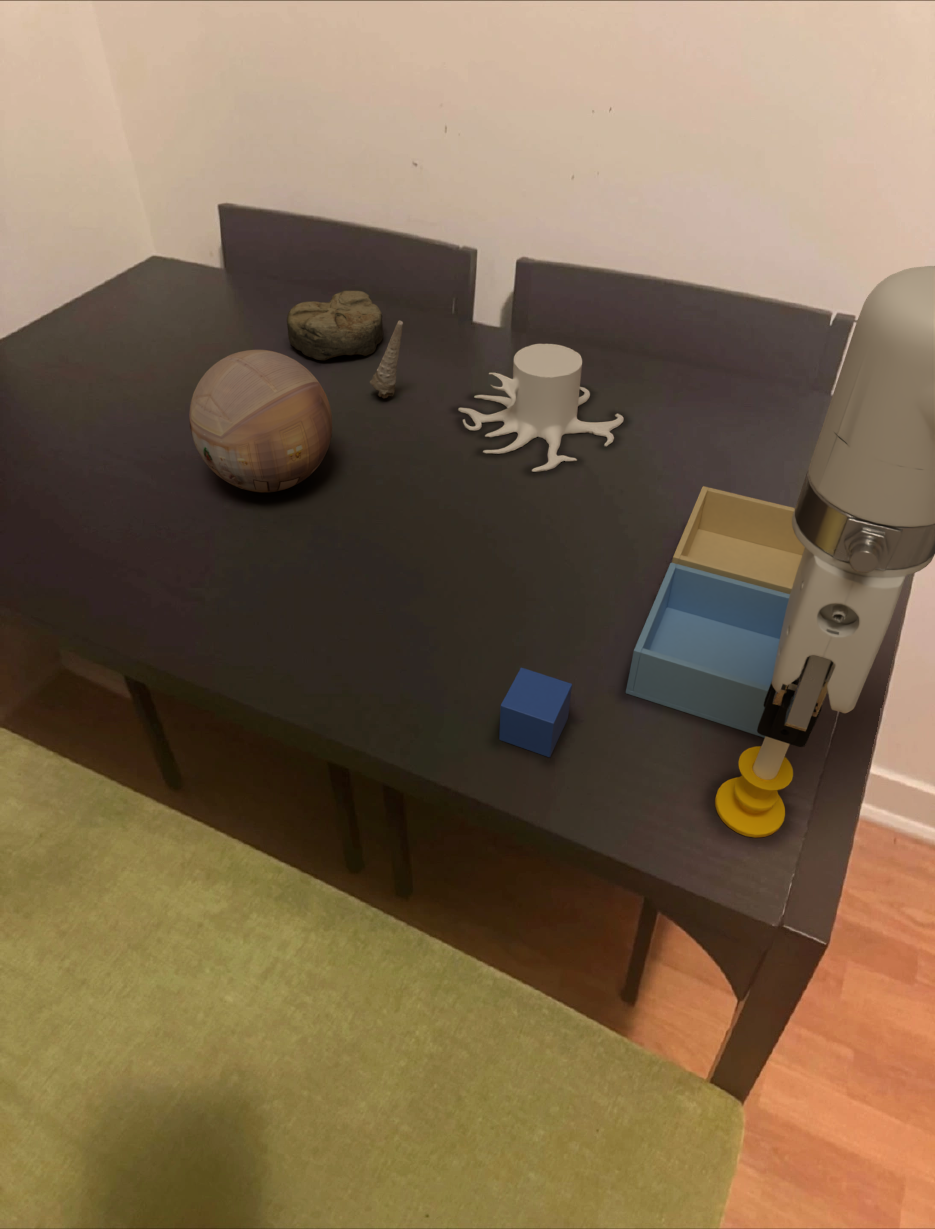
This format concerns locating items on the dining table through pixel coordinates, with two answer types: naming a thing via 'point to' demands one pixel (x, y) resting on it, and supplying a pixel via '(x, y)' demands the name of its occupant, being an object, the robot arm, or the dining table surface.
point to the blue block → (535, 711)
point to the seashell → (388, 365)
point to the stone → (336, 326)
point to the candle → (757, 790)
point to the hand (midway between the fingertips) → (783, 723)
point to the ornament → (260, 420)
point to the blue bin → (709, 647)
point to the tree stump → (542, 402)
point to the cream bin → (741, 540)
